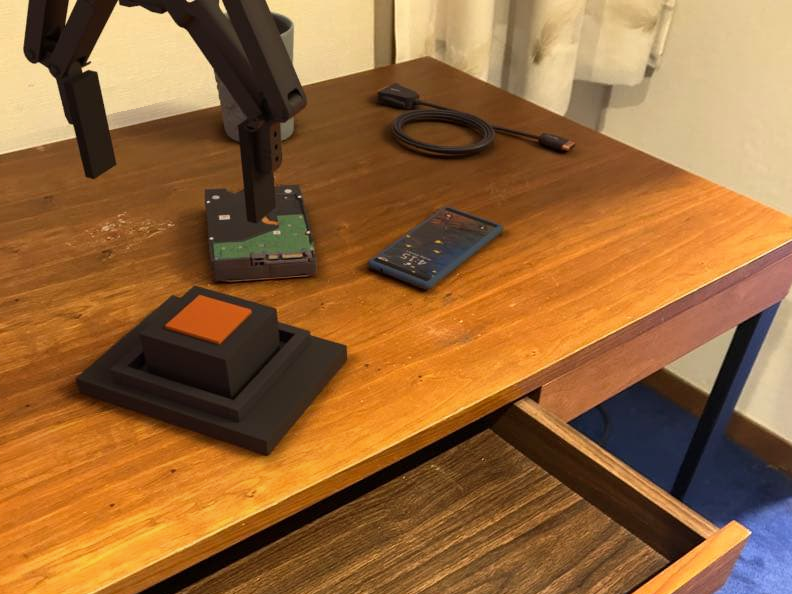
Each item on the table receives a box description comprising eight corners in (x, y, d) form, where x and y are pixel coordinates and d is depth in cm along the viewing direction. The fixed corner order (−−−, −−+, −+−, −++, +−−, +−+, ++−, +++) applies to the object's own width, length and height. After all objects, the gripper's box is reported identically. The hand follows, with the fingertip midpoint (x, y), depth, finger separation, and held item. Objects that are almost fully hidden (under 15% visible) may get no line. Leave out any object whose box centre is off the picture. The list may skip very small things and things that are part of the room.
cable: (520, 189, 99) (521, 176, 98) (329, 124, 109) (328, 112, 108) (574, 149, 106) (577, 137, 105) (391, 92, 117) (391, 81, 116)
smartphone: (505, 225, 91) (428, 285, 82) (504, 232, 92) (428, 293, 83) (445, 203, 94) (364, 260, 85) (444, 210, 94) (364, 268, 86)
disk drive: (205, 214, 93) (213, 285, 83) (202, 188, 91) (209, 258, 81) (301, 207, 94) (319, 276, 84) (299, 182, 92) (318, 250, 82)
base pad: (79, 392, 71) (70, 366, 69) (174, 308, 80) (169, 283, 78) (268, 455, 67) (265, 429, 65) (347, 359, 76) (346, 333, 74)
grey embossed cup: (301, 115, 111) (295, 10, 102) (297, 149, 104) (291, 40, 95) (222, 113, 110) (209, 8, 101) (213, 147, 103) (199, 38, 94)
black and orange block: (148, 374, 71) (137, 330, 68) (201, 325, 76) (194, 281, 73) (231, 401, 69) (225, 356, 66) (280, 348, 74) (276, 305, 71)
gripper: (358, -171, 45) (357, 210, 61) (-17, -225, 51) (71, 135, 67) (290, -147, 41) (308, 258, 57) (-114, -209, 47) (4, 174, 62)
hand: (179, 192), depth 62 cm, fingers open, 13 cm apart
